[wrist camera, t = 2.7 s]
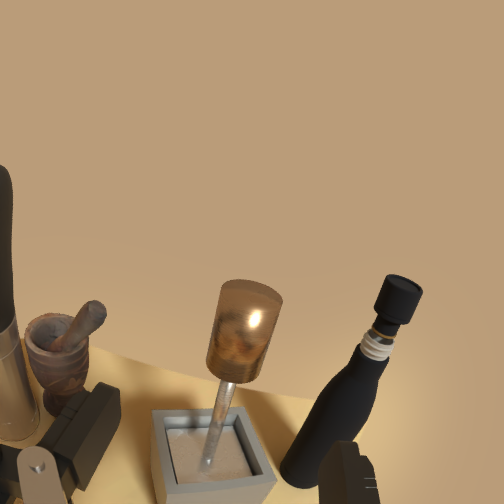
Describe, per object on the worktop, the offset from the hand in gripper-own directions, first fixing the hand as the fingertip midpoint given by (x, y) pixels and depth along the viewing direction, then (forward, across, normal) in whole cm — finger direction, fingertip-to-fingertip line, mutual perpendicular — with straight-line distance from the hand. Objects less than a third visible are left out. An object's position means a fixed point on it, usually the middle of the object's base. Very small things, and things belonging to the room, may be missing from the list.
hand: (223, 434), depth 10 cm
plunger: (+11, 0, +19) cm, 22 cm away
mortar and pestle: (+19, +20, +29) cm, 40 cm away
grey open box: (+11, 0, +29) cm, 31 cm away
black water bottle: (+18, -13, +29) cm, 37 cm away
